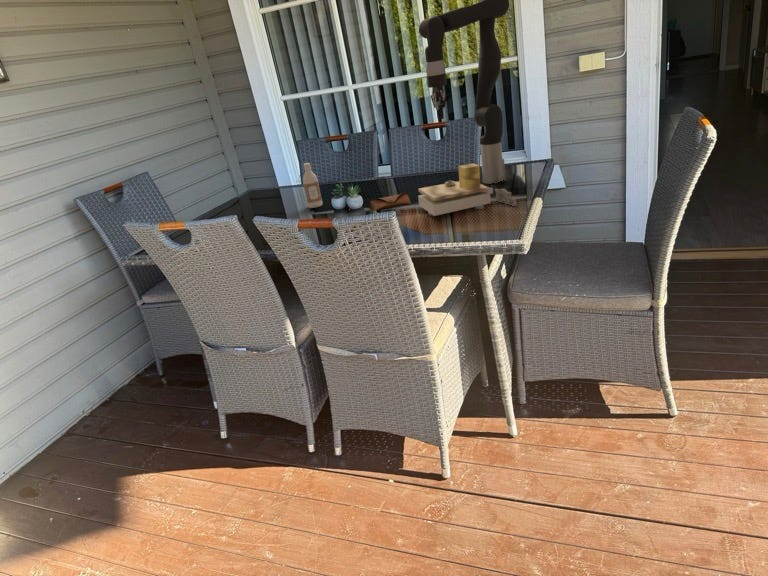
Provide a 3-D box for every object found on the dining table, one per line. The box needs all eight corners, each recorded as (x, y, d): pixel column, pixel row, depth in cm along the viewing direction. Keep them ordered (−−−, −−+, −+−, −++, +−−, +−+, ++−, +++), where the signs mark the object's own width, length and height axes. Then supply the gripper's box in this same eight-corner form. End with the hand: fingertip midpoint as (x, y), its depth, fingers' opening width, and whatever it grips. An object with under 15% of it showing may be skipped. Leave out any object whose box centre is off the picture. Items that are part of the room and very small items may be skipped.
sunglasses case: (373, 211, 217) (369, 196, 218) (371, 216, 224) (368, 202, 225) (413, 203, 219) (410, 188, 220) (411, 208, 226) (407, 194, 227)
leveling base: (471, 197, 214) (470, 178, 211) (494, 208, 195) (492, 188, 192) (418, 209, 210) (416, 190, 207) (436, 222, 191) (433, 201, 188)
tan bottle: (309, 209, 238) (299, 166, 230) (307, 205, 245) (298, 163, 236) (323, 206, 239) (314, 163, 231) (322, 202, 246) (313, 161, 237)
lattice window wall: (517, 206, 194) (516, 191, 191) (513, 207, 193) (512, 192, 191) (498, 201, 204) (497, 186, 201) (494, 202, 203) (493, 187, 201)
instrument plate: (471, 182, 210) (469, 159, 206) (490, 191, 194) (489, 165, 190) (418, 192, 206) (416, 168, 202) (433, 201, 190) (431, 176, 186)
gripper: (451, 71, 198) (455, 118, 205) (439, 72, 210) (443, 116, 217) (432, 75, 197) (437, 121, 204) (421, 75, 209) (426, 119, 216)
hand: (440, 118), depth 210 cm, fingers closed
